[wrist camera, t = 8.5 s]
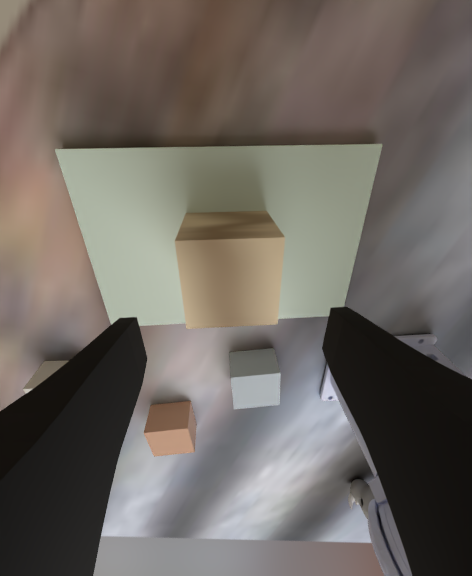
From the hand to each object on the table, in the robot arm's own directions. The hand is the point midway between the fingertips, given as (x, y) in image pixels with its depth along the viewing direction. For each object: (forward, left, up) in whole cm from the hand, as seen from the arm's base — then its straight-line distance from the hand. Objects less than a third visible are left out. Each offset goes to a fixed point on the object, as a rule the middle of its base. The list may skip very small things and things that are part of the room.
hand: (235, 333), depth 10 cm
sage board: (0, 0, -9) cm, 9 cm away
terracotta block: (+6, +18, -10) cm, 22 cm away
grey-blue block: (-2, +12, -10) cm, 15 cm away
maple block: (0, 0, -9) cm, 9 cm away
